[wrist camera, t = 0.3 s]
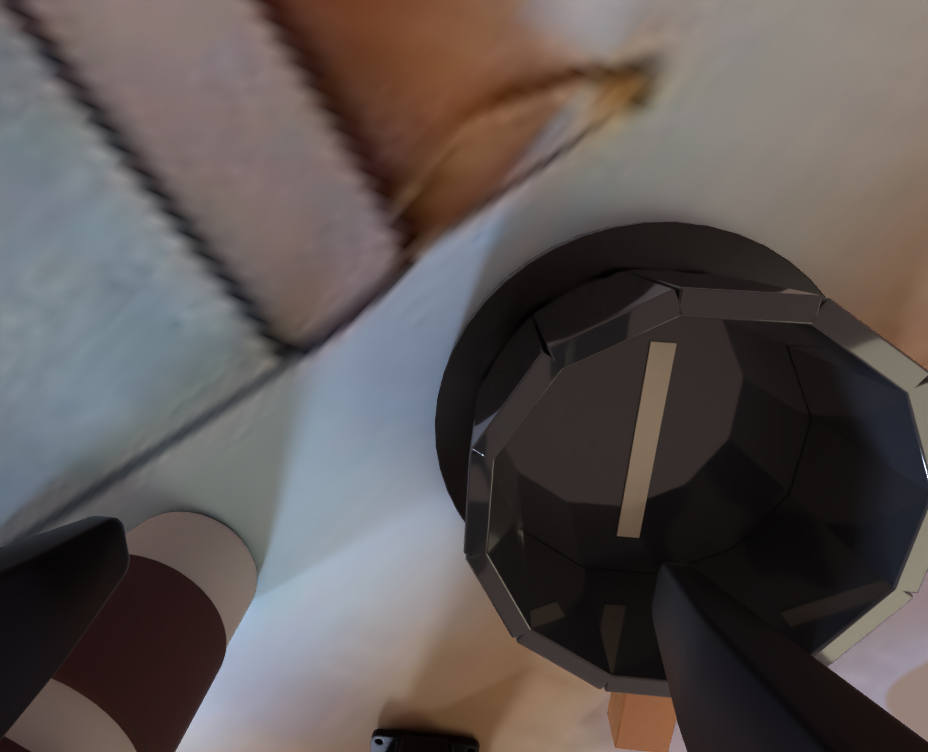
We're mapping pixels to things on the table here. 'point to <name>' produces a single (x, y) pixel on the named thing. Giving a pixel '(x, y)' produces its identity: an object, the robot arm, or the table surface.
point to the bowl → (694, 474)
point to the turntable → (562, 274)
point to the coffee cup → (147, 644)
